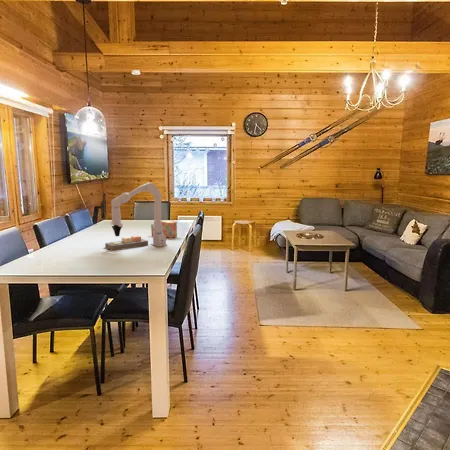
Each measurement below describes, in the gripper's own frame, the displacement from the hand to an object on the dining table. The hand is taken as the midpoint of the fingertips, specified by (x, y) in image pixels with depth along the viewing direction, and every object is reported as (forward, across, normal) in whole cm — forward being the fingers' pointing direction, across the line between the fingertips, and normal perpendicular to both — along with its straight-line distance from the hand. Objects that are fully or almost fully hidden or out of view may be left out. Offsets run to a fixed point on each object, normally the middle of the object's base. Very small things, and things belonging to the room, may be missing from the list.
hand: (117, 236), depth 239 cm
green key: (+8, 0, 0) cm, 8 cm away
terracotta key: (+5, 0, +14) cm, 14 cm away
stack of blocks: (+8, -15, +45) cm, 48 cm away
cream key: (+5, 0, +6) cm, 8 cm away
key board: (+8, 0, +6) cm, 10 cm away
